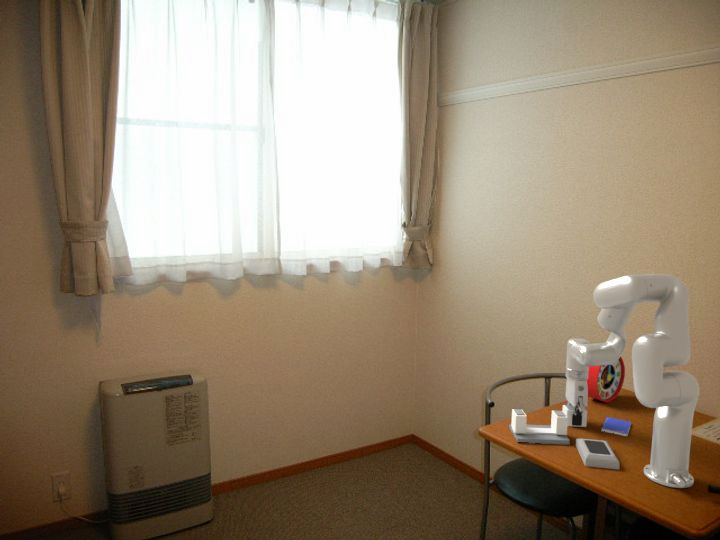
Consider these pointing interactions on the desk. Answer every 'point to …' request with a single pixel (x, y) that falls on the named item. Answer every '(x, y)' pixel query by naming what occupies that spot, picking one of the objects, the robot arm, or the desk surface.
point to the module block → (569, 413)
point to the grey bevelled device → (597, 454)
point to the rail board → (540, 429)
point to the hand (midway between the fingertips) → (574, 421)
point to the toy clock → (606, 380)
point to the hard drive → (616, 426)
